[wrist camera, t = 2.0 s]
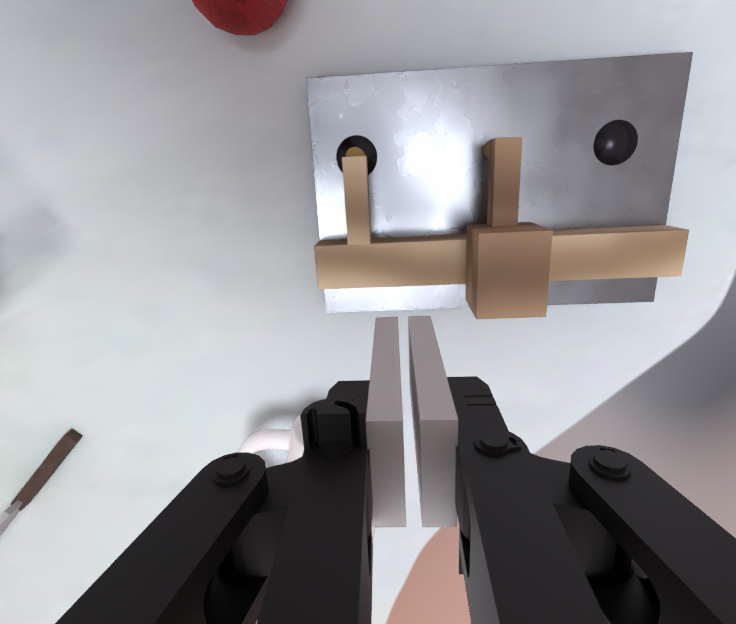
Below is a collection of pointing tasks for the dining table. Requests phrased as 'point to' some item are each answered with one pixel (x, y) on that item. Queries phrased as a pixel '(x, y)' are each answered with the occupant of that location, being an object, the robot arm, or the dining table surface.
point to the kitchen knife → (40, 477)
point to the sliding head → (506, 245)
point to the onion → (241, 14)
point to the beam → (448, 252)
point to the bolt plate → (471, 168)
